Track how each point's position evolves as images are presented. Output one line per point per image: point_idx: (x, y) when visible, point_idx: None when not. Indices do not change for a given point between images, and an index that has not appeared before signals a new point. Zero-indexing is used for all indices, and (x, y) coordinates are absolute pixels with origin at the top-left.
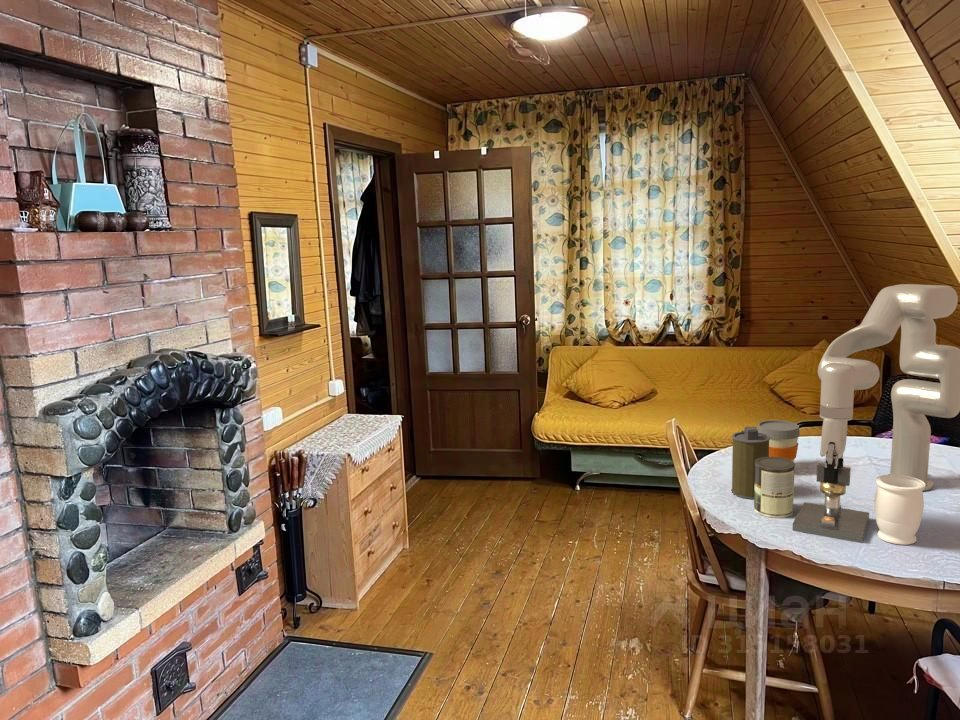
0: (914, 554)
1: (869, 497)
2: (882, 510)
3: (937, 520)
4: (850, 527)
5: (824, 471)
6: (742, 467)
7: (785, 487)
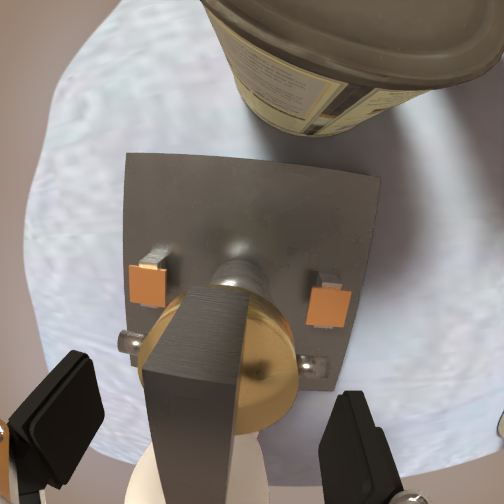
0: (141, 433)
1: (485, 357)
2: (141, 460)
3: None
4: None
5: (30, 396)
6: None
7: (241, 69)
